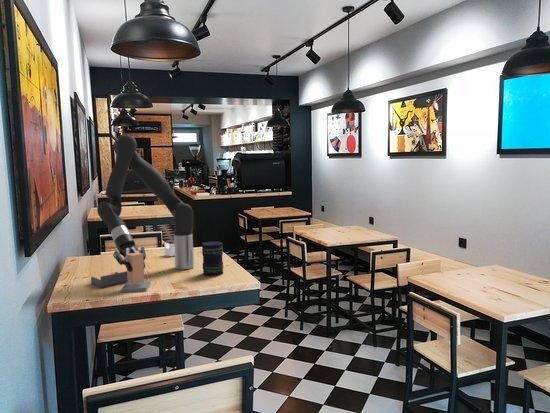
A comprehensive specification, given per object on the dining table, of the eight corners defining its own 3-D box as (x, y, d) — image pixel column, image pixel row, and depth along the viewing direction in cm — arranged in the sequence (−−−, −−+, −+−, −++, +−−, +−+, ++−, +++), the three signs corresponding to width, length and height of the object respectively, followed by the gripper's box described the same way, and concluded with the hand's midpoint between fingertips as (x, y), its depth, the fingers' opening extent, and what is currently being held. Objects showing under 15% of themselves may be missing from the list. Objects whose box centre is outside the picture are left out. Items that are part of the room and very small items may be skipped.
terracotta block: (127, 281, 174) (126, 254, 173) (138, 279, 178) (137, 252, 177) (133, 283, 171) (132, 255, 170) (144, 281, 174) (143, 253, 173)
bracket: (170, 257, 236) (170, 244, 235) (164, 256, 241) (164, 243, 240) (190, 254, 244) (190, 241, 244) (184, 252, 249) (184, 240, 249)
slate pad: (150, 284, 180) (150, 281, 180) (146, 291, 170) (146, 287, 170) (127, 285, 179) (126, 282, 179) (121, 292, 169) (121, 288, 169)
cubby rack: (91, 283, 183) (90, 272, 182) (117, 278, 191) (116, 267, 191) (102, 288, 175) (101, 277, 175) (128, 282, 184) (127, 271, 183)
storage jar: (198, 274, 196) (197, 243, 195) (213, 270, 204) (212, 240, 203) (213, 277, 190) (212, 245, 189) (227, 273, 198) (227, 242, 197)
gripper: (109, 235, 172) (124, 267, 165) (140, 230, 183) (155, 261, 176) (104, 246, 176) (118, 278, 169) (135, 241, 187) (150, 271, 180)
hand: (137, 269), depth 172 cm, fingers closed on terracotta block, 5 cm apart
